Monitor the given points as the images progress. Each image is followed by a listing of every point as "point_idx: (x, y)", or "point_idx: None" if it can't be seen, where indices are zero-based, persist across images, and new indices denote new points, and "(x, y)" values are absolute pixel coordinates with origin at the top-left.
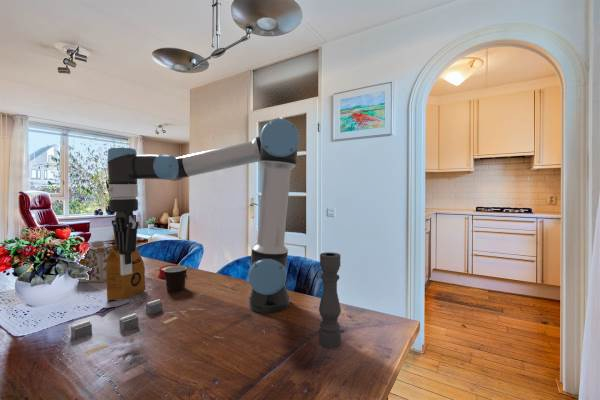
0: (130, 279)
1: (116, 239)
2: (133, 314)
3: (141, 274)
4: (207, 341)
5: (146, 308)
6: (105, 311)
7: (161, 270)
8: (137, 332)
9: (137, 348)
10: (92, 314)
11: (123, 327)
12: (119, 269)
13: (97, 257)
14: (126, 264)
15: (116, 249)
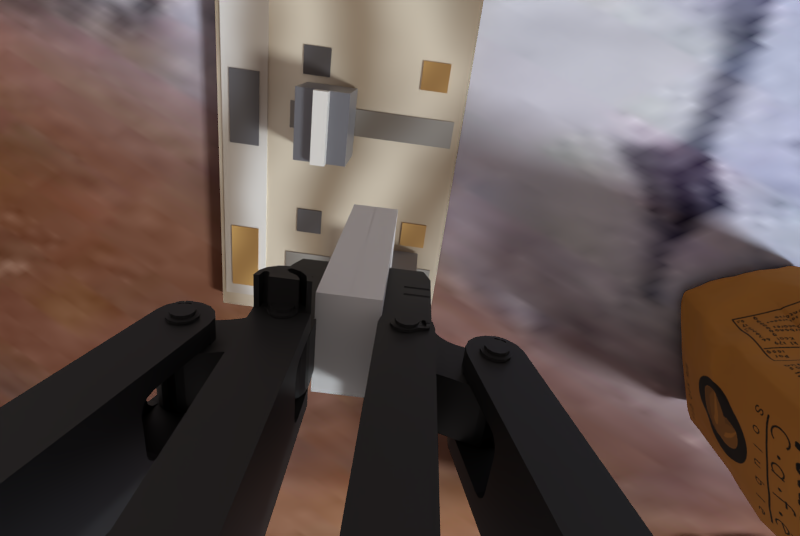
0: (726, 392)
1: (524, 466)
2: (314, 152)
3: (732, 465)
4: (6, 225)
5: (411, 261)
6: (670, 186)
7: None
8: (248, 111)
9: (160, 50)
10: (705, 132)
11: (307, 83)
12: None
13: None
14: (301, 260)
15: (495, 340)
